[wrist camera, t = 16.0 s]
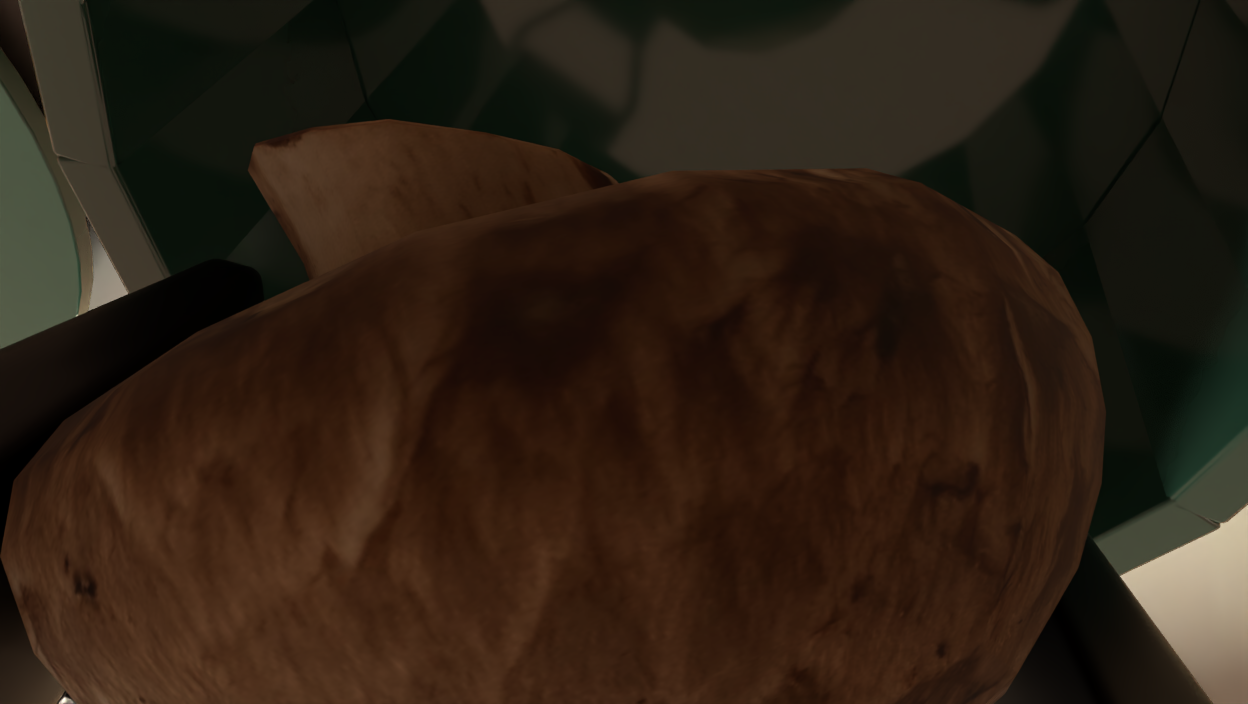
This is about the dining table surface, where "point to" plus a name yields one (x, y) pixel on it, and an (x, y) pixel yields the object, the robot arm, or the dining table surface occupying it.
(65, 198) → the pot lid
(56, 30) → the pot
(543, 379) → the mushroom
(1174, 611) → the dining table surface
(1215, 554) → the dining table surface
